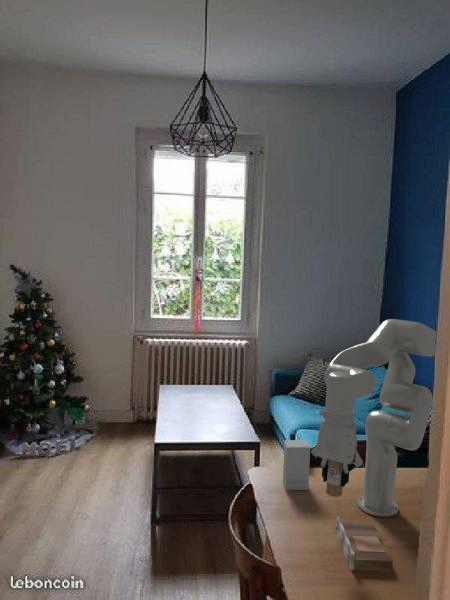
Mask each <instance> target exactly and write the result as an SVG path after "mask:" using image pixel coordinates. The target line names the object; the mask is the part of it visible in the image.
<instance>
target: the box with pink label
mask: <svg viewBox="0 0 450 600" xmlns="http://www.w3.org/2000/svg"><path fill="white" fill-rule="evenodd" d="M334 531H335V533H336V536H337V539H338V542H339V545H340V547H341V549H342V552H343V555H344V557H345V559H346V562H347V565H348V568H349V570H350V571H356V572H357V571H361V572H388V573H393V563H394V561H393V558H392V557H391V554H390V553H389V551H388V549H387V548H386V545H385V543H384V541H383V540H382V537H381V536H380V534H379V532H378V530H377V528H376V527H375V524H374V522H356V521H355V522H354V521H352V522H351V521H342V520H341V518H340V516H336V518H335V530H334Z"/></svg>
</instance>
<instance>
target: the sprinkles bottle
mask: <svg viewBox="0 0 450 600" xmlns="http://www.w3.org/2000/svg"><path fill="white" fill-rule="evenodd" d="M343 470H344V468H343V463H339V462H335V461H331V460H328V470H327V481H326V489H325V493H326V494H327V495H328V496H330V497H335V498H338V497H341V496H342V495H343V487H342V486H341V478H342V472H343Z"/></svg>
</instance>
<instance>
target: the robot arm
mask: <svg viewBox="0 0 450 600" xmlns="http://www.w3.org/2000/svg"><path fill="white" fill-rule="evenodd" d="M436 332H437V331H436V330H435V329H433V328H431V327H429V326H427V325H426V324H423V323H421V322H418V321H413V320H404V319H397V318H391V319H390V318H389V319H386V320H384V321H382V322H381V323H380V325H379V326H378V327H377V328H376V329H375V330H374V332H373V333H372V334H371V335H370V336H369V338H368V339H367V340H366V341H365V342H363V343H359V344H357V345H354V346H352V347H349V348H346V349H343V351H341V352H340V353H337V355H336V356H335V357H334V358H333V359H332V360H331V362H330V363H329V365H328V366H327V367H326V370H325V372H324V375H323V376H324V377H323V379H324V384H325V385H326V392H325V409H323V410H320V411H319V415H320V416H322V417H323V419H322V420H321V422H320V425H319V430H318V436H317V441H316V445H315V447H313V448H312V449H311V450H310V454H312V456H313V457H315V458H316V459H317V461H318V463H319V465H320V466H321V477H322V482H324V483H327V470H328V460H331V461H335V462H339V463H343V468H344V470H343V472H342V478H341V486H342V488H344V487H345V486H346V485H347V484H349V481H350V472H351V471H353V470H354V469H355V468H359V467H361V466H362V465H363V464H364V461H363V459H362V458H361V455H360V454H359V452H358V438H357V437H358V436H357V428H356V424H355V423H354V415H355V400H356V399H358V398H365V397H369V396H370V395H372V394H374V392H375V390H376V388H377V384H378V383H377V381H378V380H377V377H376V375H375V374H374V373H373V372H372V371H370V370H368V369H363V368H374V367H379V366H381V367H382V366H384V365H386V364H388V366H387V371H386V374H385V376H384V380H383V382H382V385H381V388H380V392H379V393H380V394H379V403H380V405H381V406H382V407H384V408H386V409H388V410H389V409H390V410H393V411H396V412H401V413H403V414H407V415H410V417H408V416H405V415H400V414H398V413H395V412H389V411H385V410H382V409H381V410H379V409H377V410H373V411H371V412H369V413H368V415H367V416H366V419H365V420H364V421H365V422H364V423H365V425H364V427H365V428H364V429H365V437H366V450H365V454H366V455H365V467H364V468H365V469H364V477H363V478H364V479H363V493H362V495H360V496H359V497H358V499H357V501H356V502H357V507H359V509H360V510H362V511H363V512H365V513H366V514H369V515H371V516H375V517H380V518H381V517H383V518H385V517H386V518H388V517H389V518H390V517H393V516H395V515H397V514H398V513H399V505H398V503H396V501H395V500H394V499H395V492H396V491H395V490H396V478H397V467H398V465H397V464H398V455H397V454H398V453H397V451H396V449H395V447H398V448H402V449H404V450H408V451H416V450H418V449H419V448H420V447H421V445H422V442H423V439H424V436H425V434H426V433H425V432H426V428H427V426H428V421H429V419H430V415H431V411H432V408H431V406H433V400H432V399H433V394H432V392H431V390H430V389H429V388H428V387H426V386H424V385H419V384H415V383H413V382H414V379H415V375H416V366H415V364H414V363H413V360H412V359H411V357H410V355H409V354H411V355H417V356H422V357H429V358H430V357H433V356H435V355H436V354H435V340H436Z"/></svg>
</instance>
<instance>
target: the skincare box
mask: <svg viewBox="0 0 450 600" xmlns="http://www.w3.org/2000/svg"><path fill="white" fill-rule="evenodd" d="M283 443H284V444H283V445H284V446H283V467H282V468H283V471H282V483H283V487H284V489H285V491H309V483H310V481H309V480H310V462H311V461H310V459H311V458H310V457H311V456H310V455H311V446H310V444H309V442H308V440H306V439H305V440H303V439H302V440H301V439H299V440H298V439H296V440H295V439H293V440H292V439H290V440H289V439H287V440H286V439H284V442H283Z"/></svg>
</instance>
